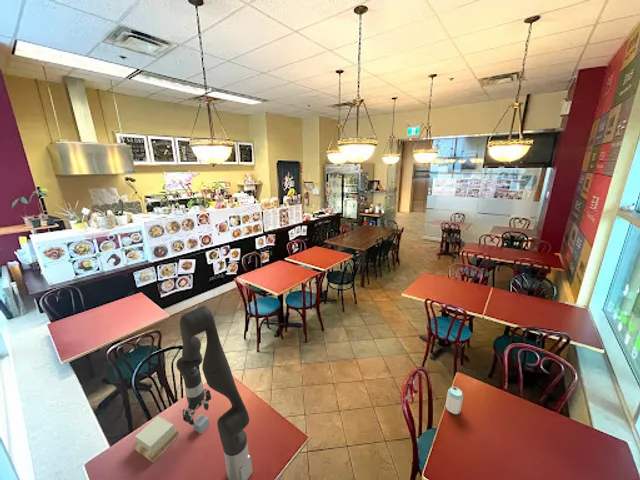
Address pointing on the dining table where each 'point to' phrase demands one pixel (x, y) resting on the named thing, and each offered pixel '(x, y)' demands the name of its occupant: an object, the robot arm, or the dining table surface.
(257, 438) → the dining table surface
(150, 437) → the top block
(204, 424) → the slate cube
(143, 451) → the base block
